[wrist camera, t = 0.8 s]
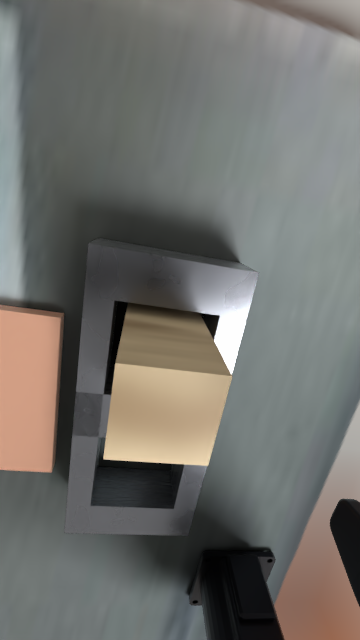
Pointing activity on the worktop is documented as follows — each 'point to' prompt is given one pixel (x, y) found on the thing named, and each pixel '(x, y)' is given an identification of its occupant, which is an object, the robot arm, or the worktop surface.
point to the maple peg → (166, 389)
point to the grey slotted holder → (97, 377)
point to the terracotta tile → (29, 387)
